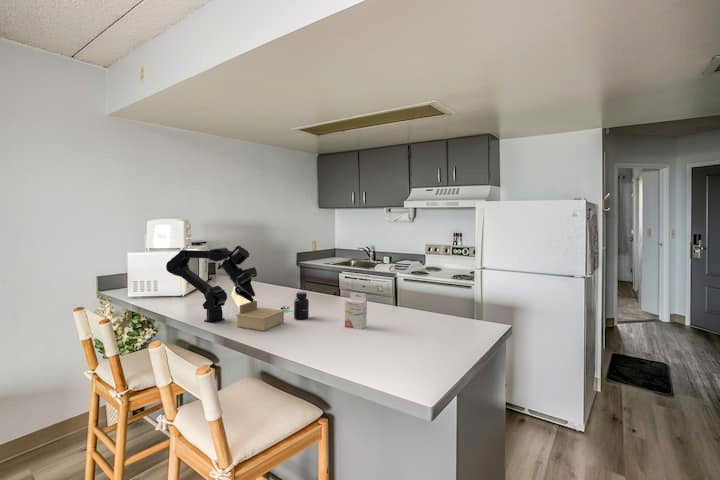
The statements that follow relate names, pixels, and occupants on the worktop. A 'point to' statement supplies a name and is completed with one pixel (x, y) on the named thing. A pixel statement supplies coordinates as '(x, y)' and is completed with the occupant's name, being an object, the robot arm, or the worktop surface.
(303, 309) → the supplement bottle
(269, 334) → the worktop surface
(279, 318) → the mailer box
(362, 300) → the ink cartridge box
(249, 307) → the lid
